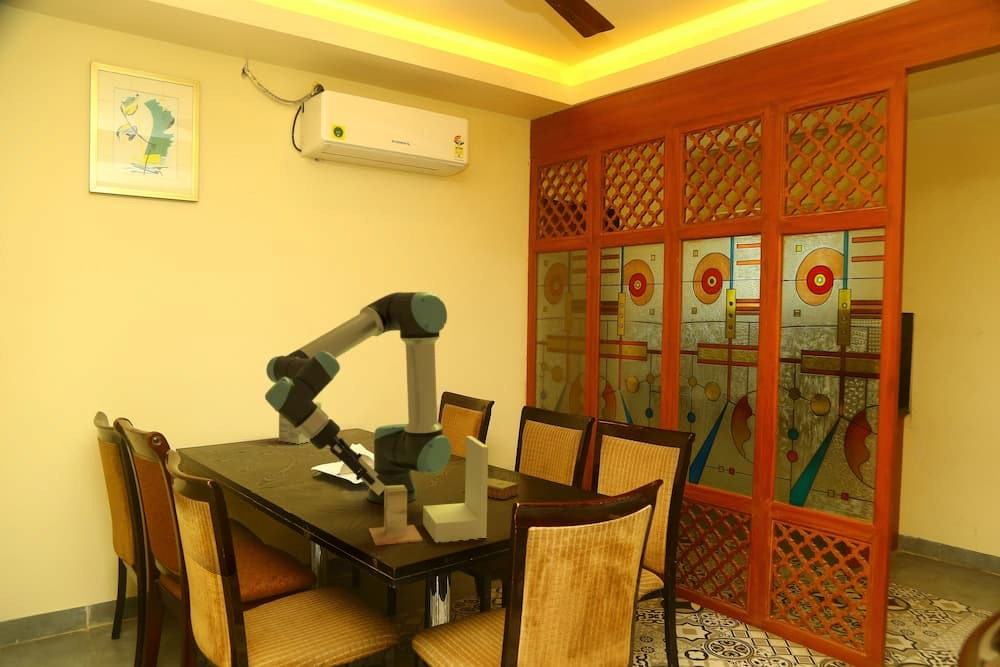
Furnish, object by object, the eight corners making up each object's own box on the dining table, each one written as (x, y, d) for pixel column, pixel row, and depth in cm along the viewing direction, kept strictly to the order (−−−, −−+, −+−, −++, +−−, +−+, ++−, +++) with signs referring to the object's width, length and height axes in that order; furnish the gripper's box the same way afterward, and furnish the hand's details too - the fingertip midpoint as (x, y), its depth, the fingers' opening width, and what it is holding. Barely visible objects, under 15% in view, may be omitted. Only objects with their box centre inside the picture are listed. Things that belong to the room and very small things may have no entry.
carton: (502, 501, 211) (502, 488, 211) (464, 492, 221) (464, 479, 221) (518, 496, 217) (518, 483, 217) (481, 487, 227) (481, 474, 227)
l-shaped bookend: (422, 523, 185) (424, 437, 185) (469, 520, 189) (471, 436, 189) (435, 542, 170) (437, 449, 169) (486, 538, 174) (488, 447, 174)
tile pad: (369, 530, 179) (369, 528, 179) (413, 526, 182) (413, 524, 182) (375, 545, 167) (375, 543, 167) (422, 541, 171) (422, 539, 171)
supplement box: (300, 437, 308) (300, 399, 308) (321, 440, 302) (321, 402, 301) (277, 441, 297) (278, 402, 296) (299, 445, 290) (299, 405, 290)
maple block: (383, 531, 177) (384, 486, 176) (402, 529, 178) (403, 484, 178) (387, 537, 171) (387, 491, 171) (406, 536, 173) (407, 490, 173)
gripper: (305, 431, 179) (361, 483, 184) (310, 449, 155) (374, 508, 160) (326, 410, 180) (381, 463, 185) (334, 426, 156) (396, 485, 162)
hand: (378, 484), depth 173 cm, fingers open, 13 cm apart
